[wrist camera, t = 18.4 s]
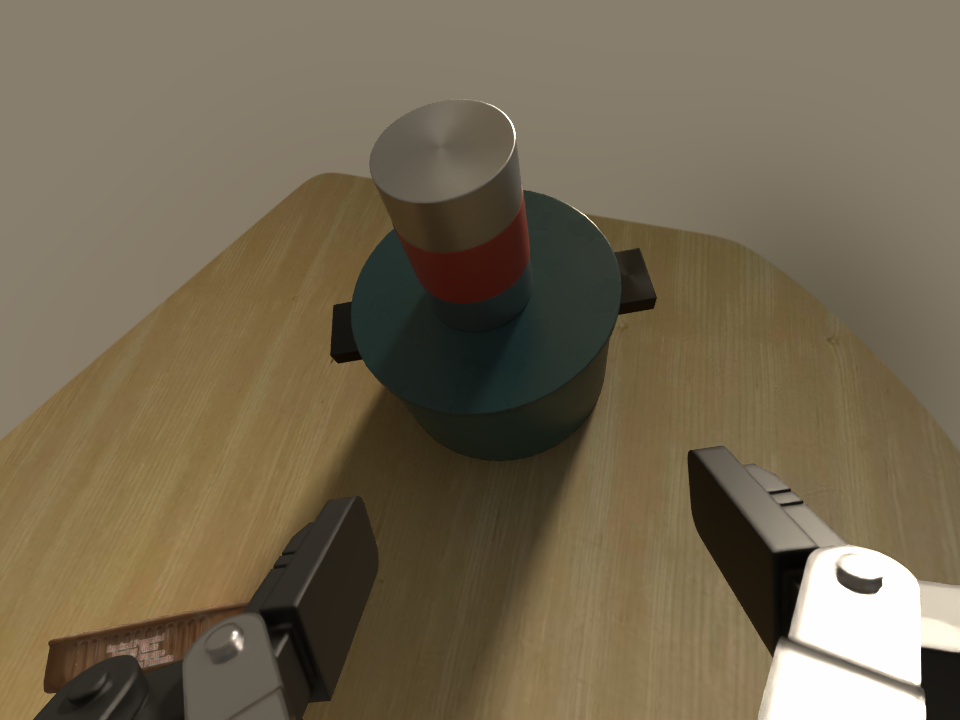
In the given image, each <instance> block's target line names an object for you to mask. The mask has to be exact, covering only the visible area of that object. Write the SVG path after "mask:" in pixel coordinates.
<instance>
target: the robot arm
mask: <svg viewBox="0 0 960 720" xmlns="http://www.w3.org/2000/svg"><path fill="white" fill-rule="evenodd" d="M688 473H689V486H690V499H691V510H692V516H693V520H694V523H695V526H696V529H697V532H698V534H699V536H700V537H701V539H702V541H703V542H704V544H705V546H706V547H707V549H708V551H709V552H710V554H711V556H712V557H713V559H714V561H715V562H716V564H717V566H718V567H719V569H720V571H721V572H722V574H723V576H724V577H725V579H726V581H727V582H728V584H729V586H730V587H731V589H732V591H733V592H734V594H735V596H736V597H737V599H738V601H739V602H740V604H741V606H742V607H743V609H744V611H745V612H746V614H747V616H748V617H749V619H750V621H751V622H752V624H753V626H754V627H755V629H756V631H757V632H758V634H759V636H760V637H761V639H762V641H763V642H764V644H765V646H766V647H767V649H768V651H769V652H770V654H771V656H772V657H773V661H772V665H771V669H770V673H769V676H768V680H767V684H766V688H765V691H764V695H763V699H762V703H761V706H760V710H759V714H758V718H757V720H960V585H953V584H944V583H935V582H928V581H921V580H916V579H915V578H914V576H913V575H912V574H911V573H910V572H909V571H908V570H907V569H906V568H905V567H904V566H902V565H901V564H899V563H898V562H896V561H895V560H893V559H891V558H890V557H887V556H885V555H883V554H881V553H878V552H876V551H873V550H870V549H866V548H862V547H857V546H851V545H848V544H847V543H846V542H845V541H844V540H843V539H842V538H841V537H840V536H839V535H838V534H837V533H836V532H835V531H834V530H833V529H832V528H831V527H830V526H829V525H828V524H827V523H826V522H825V521H823V520H822V519H821V518H820V517H819V516H818V515H817V514H816V513H815V512H814V511H813V510H812V509H811V508H810V507H809V506H808V505H807V504H804V503H803V500H802V499H801V498H800V497H799V496H798V495H796V494H795V493H794V492H791V489H790V488H789V487H788V486H787V485H786V484H785V483H784V482H783V481H782V480H781V479H780V478H779V477H778V476H777V475H776V474H774V473H771V472H769V471H767V470H765V469H763V468H761V467H759V466H757V465H755V464H748V465H742V464H741V463H740V462H739V461H738V460H737V459H736V458H735V457H734V456H733V455H732V453H731V452H730V451H729V450H728V449H727V448H726V447H724V446H717V447H710V448H703V449H696V450H690V451H689V452H688ZM377 571H378V549H377V545H376V542H375V538H374V535H373V531H372V528H371V525H370V521H369V518H368V515H367V511H366V508H365V505H364V502H363V500H362V498H361V497H359V496H353V497H346V498H339V499H332V500H329V501H327V503H326V504H325V506H324V507H323V509H322V511H321V512H320V514H319V515H318V517H317V519H316V520H315V522H311V523H309V524H307V525H306V526H305V527H304V528H303V529H302V530H301V531H299V532H298V533H297V534H296V535H295V536H294V537H293V538H292V539H291V541H290V542H289V544H288V545H287V547H286V548H285V550H284V551H283V552H282V556H280V557H279V558H278V560H277V561H276V563H275V564H274V569H271V570H270V572H269V573H268V575H267V576H266V578H265V579H264V581H263V582H262V584H261V585H260V587H259V588H258V590H257V591H256V593H255V594H254V596H253V597H252V599H251V600H250V602H249V603H248V605H247V606H246V608H245V609H244V611H243V612H242V613H240V614H236V615H233V616H230V617H228V618H226V619H224V620H222V621H220V622H218V623H216V624H215V625H213V626H212V627H210V628H209V629H208V630H206V631H205V632H204V633H203V634H201V635H200V636H199V637H198V638H197V639H196V640H195V642H194V643H193V644H192V645H191V646H190V648H189V649H188V651H187V653H186V655H185V657H184V659H183V660H180V661H177V662H175V663H172V664H169V665H166V666H164V667H161V668H158V669H156V670H153V671H150V672H147V673H145V674H144V673H143V671H142V669H141V667H140V665H139V663H138V661H137V659H136V658H135V657H134V656H131V655H119V656H115V657H111V658H108V659H106V660H103V661H101V662H99V663H97V664H95V665H93V666H91V667H90V668H88V669H86V670H85V671H83V672H82V673H80V674H79V675H77V676H76V677H75V678H73V679H72V680H71V681H69V682H68V683H67V684H66V685H65V686H64V687H63V688H61V689H60V690H59V691H58V692H57V693H56V694H55V696H54V697H53V698H52V699H51V700H50V701H49V702H48V703H47V704H46V706H45V707H44V708H43V709H42V710H41V711H40V712H39V713H38V714H37V716H36V717H35V718H34V719H33V720H303V718H302V716H303V714H304V712H305V709H306V707H307V704H308V703H311V702H322V701H331V698H332V695H333V693H334V690H335V687H336V684H337V682H338V679H339V676H340V673H341V671H342V668H343V665H344V662H345V660H346V657H347V654H348V651H349V649H350V646H351V643H352V640H353V638H354V635H355V632H356V630H357V627H358V624H359V621H360V619H361V616H362V613H363V610H364V608H365V605H366V602H367V599H368V597H369V594H370V591H371V588H372V586H373V583H374V580H375V577H376V575H377Z"/></svg>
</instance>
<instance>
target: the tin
mask: <svg viewBox="0 0 960 720" xmlns="http://www.w3.org/2000/svg"><path fill="white" fill-rule="evenodd" d="M250 600H251V599H250ZM250 600H245V601H239V602H233V603H227V604H223V605H217V606H211V607H207V608H202V609H196V610H192V611H187V612H182V613H177V614H172V615H167V616H162V617H157V618H153V619H147V620H143V621H138V622H133V623H128V624H123V625H118V626H114V627H108V628H103V629H99V630H94V631H88V632H83V633H78V634H73V635H68V636H64V637H60V638H56V639H52V640H50V641H49V642H48V644H49V646H50V649H49V654H48V660H47V665H46V671H45V677H44V691H45V692H46V693H57V692H58V691H59V690H60V689H61V688H63V687H64V686H65V685H66V684H67V683H68V682H69V681H71V680H72V679H73V678H75V677H76V676H77V675H79V674H80V673H82V672H83V671H85V670H86V669H88V668H90V667H91V666H93V665H95V664H97V663H99V662H101V661H103V660H106V659H108V658H111V657H115V656H119V655H131V656H134V657H135V658H136V659H137V661H138V663H139V665H140V667H141V669H142V671H143V673H144V674H145V673H147V672H150V671H153V670H156V669H158V668H161V667H164V666H166V665H169V664H172V663H175V662H177V661H180V660H183V659H184V657H185V655H186V653H187V651H188V649H189V648H190V646H191V645H192V644H193V643H194V642H195V640H196V639H197V638H198V637H199V636H200V635H201V634H203V633H204V632H205V631H206V630H208V629H209V628H210V627H212V626H213V625H215V624H216V623H218V622H220V621H222V620H224V619H226V618H228V617H230V616H233V615H236V614H240V613H242V612H243V611H244V609H245V608H246V606H247V605H248V603H249V602H250Z"/></svg>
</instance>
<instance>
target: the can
mask: <svg viewBox="0 0 960 720" xmlns="http://www.w3.org/2000/svg"><path fill="white" fill-rule="evenodd" d="M369 164H370V173H371V176H372V179H373V181H374V183H375V185H376V187H377V189H378V192H379V194H380V196H381V198H382V200H383V202H384V205H385V207H386V209H387V211H388V213H389V215H390V218H391V220H392V223H393V227H394V229H395V231H396V233H397V235H398V237H399V240H400V242H401V244H402V246H403V248H404V250H405V253H406V255H407V257H408V259H409V261H410V263H411V266H412V268H413V270H414V272H415V274H416V276H417V278H418V280H419V282H420V284H421V285H422V287H423V289H424V291H425V294H426V296H427V298H428V300H429V302H430V305H431V307H432V309H433V311H434V312H435V314H436V315H437V316H438V317H439V318H440V319H441V320H442V321H443V322H444V323H446V324H447V325H449V326H451V327H453V328H456V329H458V330H463V331H469V332H480V331H487V330H492V329H495V328H498V327H500V326H502V325H504V324H506V323H508V322H509V321H511V320H512V319H514V318H515V317H516V316H517V315H518V314H519V313H520V312H521V311H522V310H523V309H524V307H525V306H526V304H527V303H528V301H529V299H530V296H531V293H532V289H533V278H532V270H531V261H530V245H529V236H528V227H527V219H526V210H525V201H524V193H523V186H522V183H521V176H520V168H519V159H518V151H517V142H516V134H515V130H514V127H513V125H512V123H511V121H510V120H509V118H508V117H507V116H506V115H505V114H504V113H503V112H502V111H501V110H499V109H497V108H496V107H494V106H492V105H490V104H487V103H484V102H480V101H475V100H466V99H454V100H445V101H440V102H435V103H431V104H428V105H425V106H422V107H420V108H417V109H415V110H413V111H411V112H409V113H407V114H405V115H404V116H402V117H400V118H399V119H397V120H396V121H395V122H394V123H392V124H391V125H390V126H389V127H388V128H387V129H386V130H385V131H384V132H383V133H382V134H381V135H380V137H379V138H378V140H377V141H376V143H375V145H374V147H373V149H372V152H371V155H370V163H369Z"/></svg>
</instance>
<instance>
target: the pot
mask: <svg viewBox="0 0 960 720" xmlns="http://www.w3.org/2000/svg"><path fill="white" fill-rule="evenodd" d="M523 193H524V201H525V210H526V219H527V227H528V236H529V245H530V261H531V270H532V278H533V289H532V293H531V296H530V299H529V301H528V303H527V304H526V306H525V307H524V309H523V310H522V311H521V312H520V313H519V314H518V315H517V316H516V317H515V318H514V319H512V320H511V321H509V322H508V323H506V324H504V325H502V326H500V327H498V328H495V329H492V330H487V331H480V332H469V331H463V330H458V329H456V328H453V327H451V326H449V325H447V324H446V323H444V322H443V321H442V320H441V319H440V318H439V317H438V316H437V315H436V314H435V312H434V311H433V309H432V307H431V305H430V302H429V300H428V298H427V296H426V294H425V291H424V289H423V287H422V285H421V284H420V282H419V280H418V278H417V276H416V274H415V272H414V270H413V268H412V266H411V263H410V261H409V259H408V257H407V255H406V253H405V250H404V248H403V246H402V244H401V242H400V240H399V237H398V235H397V233H396V231H395V229H393V230H392V231H391V232H390V233H388V234H387V235H386V237H385V238H384V239H383V240H382V241H381V242H380V243H379V244H378V245H377V247H376V248H375V249H374V251H373V252H372V253H371V255H370V256H369V258H368V259H367V261H366V263H365V265H364V266H363V268H362V270H361V273H360V275H359V277H358V280H357V282H356V286H355V289H354V293H353V298H352V302H347V303H342V304H336V305H333V320H332V336H331V352H330V356H331V357H332V358H333V359H334V360H335V361H336V362H337V363H345V362H350V361H356V360H362V359H363V361H364V362H365V364H366V366H367V367H368V369H369V370H370V371H371V372H372V373H373V375H374V376H375V377H376V378H377V380H378V381H379V382H380V383H381V384H382V385H384V386H385V387H386V388H387V389H388V390H389V391H390V392H391V393H393V394H394V395H396V396H397V397H399V398H400V400H401V401H402V402H403V403H404V405H405V406H406V407H407V408H408V410H409V411H410V412H411V413H412V415H413V416H414V417H415V418H416V419H417V421H418V422H419V423H420V424H421V426H422V427H423V428H424V429H425V430H426V432H427V433H429V434H430V435H431V436H432V437H433V438H434V439H435V440H436V441H438V442H439V443H441V444H442V445H444V446H445V447H447V448H449V449H451V450H453V451H455V452H457V453H460V454H463V455H466V456H469V457H472V458H478V459H483V460H497V461H502V460H514V459H519V458H524V457H529V456H532V455H535V454H537V453H540V452H543V451H545V450H547V449H549V448H551V447H553V446H555V445H557V444H558V443H560V442H561V441H563V440H564V439H566V438H567V437H568V436H569V435H571V434H572V433H573V432H574V431H575V430H576V429H577V428H578V427H579V426H580V425H581V424H582V423H583V422H584V420H585V419H586V418H587V417H588V415H589V414H590V412H591V411H592V409H593V407H594V406H595V404H596V402H597V399H598V397H599V395H600V393H601V389H602V385H603V382H604V376H605V369H606V362H607V354H608V347H609V340H610V336H611V334H612V332H613V330H614V327H615V324H616V320H617V317H618V315H620V314H626V313H632V312H638V311H643V310H649V309H654V306H655V302H656V299H657V297H656V294H655V291H654V288H653V285H652V283H651V280H650V277H649V274H648V271H647V268H646V265H645V262H644V259H643V256H642V253H641V250H640V248H636V249H630V250H625V251H620V252H613V249H612V247H611V246H610V244H609V242H608V241H607V239H606V237H605V236H604V234H603V233H602V232H601V231H600V230H599V228H598V227H597V226H596V225H595V224H594V223H593V222H592V221H591V220H590V219H589V218H587V217H586V216H585V215H584V214H583V213H581V212H580V211H578V210H577V209H575V208H574V207H572V206H570V205H568V204H566V203H564V202H562V201H560V200H558V199H556V198H553V197H550V196H547V195H544V194H540V193H536V192H532V191H526V190H523Z"/></svg>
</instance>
